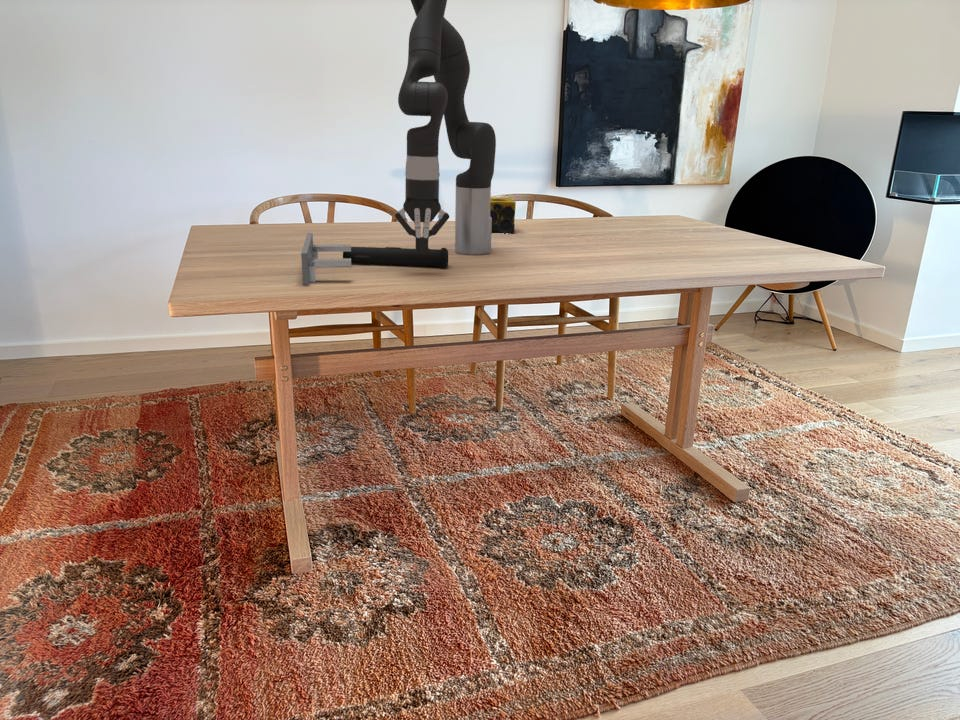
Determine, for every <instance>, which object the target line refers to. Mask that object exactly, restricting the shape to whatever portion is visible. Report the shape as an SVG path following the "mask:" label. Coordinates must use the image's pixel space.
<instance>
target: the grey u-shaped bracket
mask: <svg viewBox="0 0 960 720" xmlns="http://www.w3.org/2000/svg"><path fill="white" fill-rule="evenodd" d="M351 247H352V244H351V243H350V244H349V243H348V244H343V243H342V244H313V245H312V256H313V259H309V261H308V263H309V280H310V283H311V282H312V283H313V284H314V283H316V282H317V277H316V267H317V268H320V267H321V268H322V267H323V268H325V267H330V268H331V267H334V268H335V267H352V264H351V258H343V257H342V258H319V253H323V252H324V253H326V252H327V253H329V252H330V253H331V252H334V253H335V252H342V253H343V252H347V251H351ZM310 283H309V284H310Z"/></svg>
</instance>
